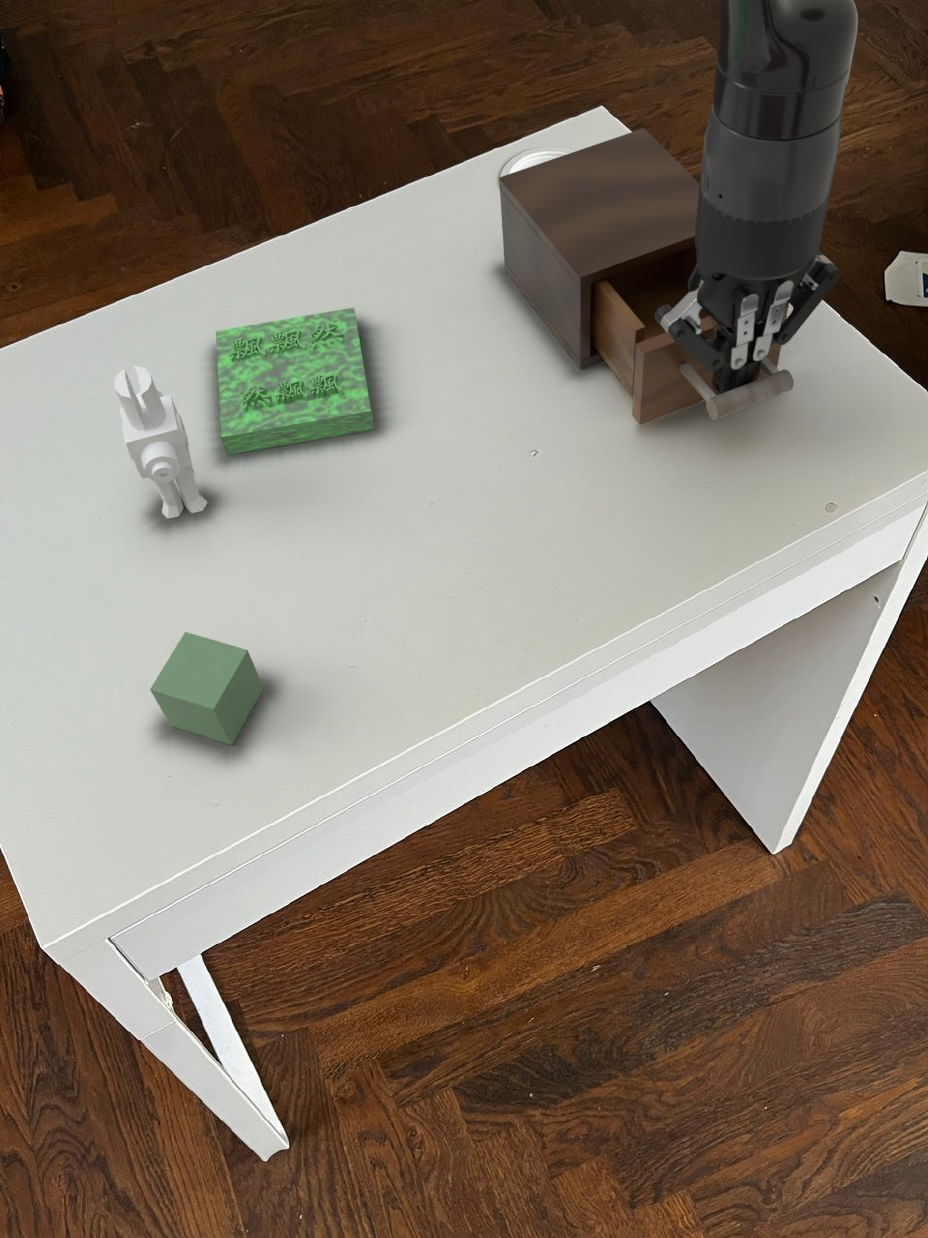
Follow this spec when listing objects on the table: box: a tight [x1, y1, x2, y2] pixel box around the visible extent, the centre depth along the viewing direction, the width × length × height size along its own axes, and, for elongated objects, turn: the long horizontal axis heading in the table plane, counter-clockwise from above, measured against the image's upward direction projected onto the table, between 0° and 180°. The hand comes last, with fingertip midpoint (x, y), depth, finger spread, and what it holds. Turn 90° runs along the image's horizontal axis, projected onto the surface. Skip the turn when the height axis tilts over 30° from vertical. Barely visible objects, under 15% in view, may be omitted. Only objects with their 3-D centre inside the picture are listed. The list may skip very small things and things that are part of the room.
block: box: [149, 631, 264, 746], centre depth 72 cm, size 4×4×4 cm
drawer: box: [590, 246, 794, 426], centre depth 84 cm, size 18×12×7 cm, turn 24°
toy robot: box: [113, 365, 208, 520], centre depth 80 cm, size 4×8×12 cm, turn 17°
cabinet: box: [498, 128, 700, 370], centre depth 90 cm, size 14×13×9 cm
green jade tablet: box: [215, 306, 375, 456], centre depth 89 cm, size 11×12×2 cm
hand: (733, 394), depth 81 cm, fingers closed
